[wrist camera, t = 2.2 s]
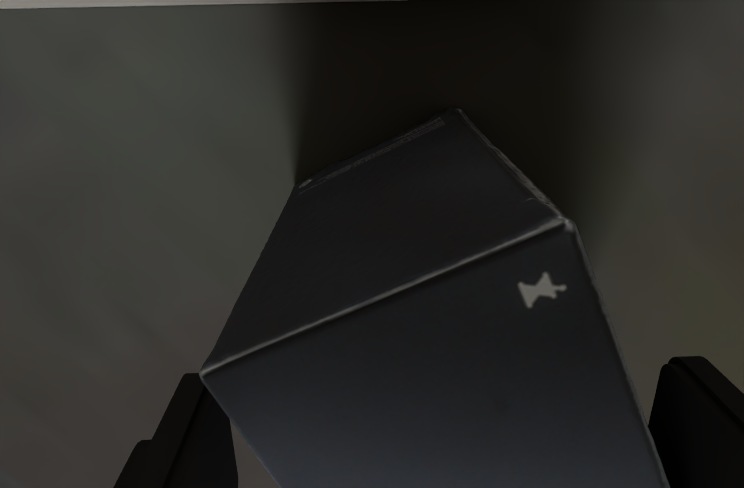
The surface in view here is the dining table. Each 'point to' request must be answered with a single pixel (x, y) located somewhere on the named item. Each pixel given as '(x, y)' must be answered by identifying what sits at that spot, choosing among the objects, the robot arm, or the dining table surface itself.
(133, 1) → the tray
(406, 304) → the small box
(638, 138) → the dining table surface
